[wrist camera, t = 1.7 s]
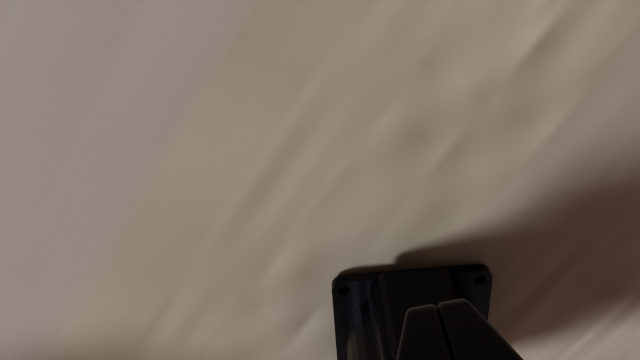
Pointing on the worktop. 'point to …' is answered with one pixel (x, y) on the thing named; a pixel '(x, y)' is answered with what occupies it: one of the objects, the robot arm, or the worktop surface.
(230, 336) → the worktop surface
